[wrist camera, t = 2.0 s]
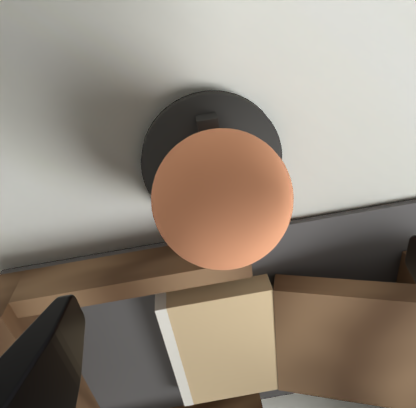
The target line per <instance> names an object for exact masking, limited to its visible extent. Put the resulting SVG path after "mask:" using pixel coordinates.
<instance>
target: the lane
mask: <svg viewBox="0 0 416 408" xmlns="http://www.w3.org/2000/svg"><path fill="white" fill-rule="evenodd" d="M415 234H416V199H414V200H408V201H402V202H397V203H391V204H385V205H379V206H373V207H368V208H362V209H356V210H350V211H344V212H339V213H333V214H327V215H321V216H315V217H310V218H304V219H298V220H292V221H290V222H289V225H288V228H287V230H286V232H285V234H284V235H283V237H282V238H281V240H280V241H279V243H278V244H277V245H276V246H275V247H274V249H273V250H272V251H270V252H269V253H268V254H267V255H266V256H264V257H263V258H261V259H260V260H258V261H256V262H254V263H252V274H253V277H251V278H245V279H239V280H233V281H228V282H222V283H216V284H211V285H205V286H199V287H193V288H188V289H182V290H176V291H171V292H165V293H159V294H153V295H148V296H142V297H136V298H131V299H125V300H119V301H113V302H108V303H102V304H96V305H91V306H85V307H81V309H82V311H83V314H84V316H85V335H84V349H83V362H82V376H83V377H84V379H85V381H86V383H87V385H88V387H89V388H90V390H91V392H92V394H93V396H94V397H95V399H96V401H97V403H98V405H99V407H100V408H172V407H177V406H183V405H184V406H190V405H194V404H200V403H205V402H211V401H216V400H222V399H227V398H233V397H238V396H244V395H250V394H255V393H259V394H260V398H261V399H265V398H271V397H276V396H282V395H287V394H293V392H287V391H281V390H278V374H277V355H276V336H275V317H274V298H273V288H274V280H275V274H282V275H296V276H310V277H324V278H338V279H352V280H365V281H379V282H393V283H396V281H397V276H398V271H399V266H400V261H401V256H402V251H407V246H408V242H409V238H410V237H411V236H412V235H415ZM163 246H168V245H167V243H166V242H165V243H159V244H153V245H147V246H141V247H136V248H130V249H124V250H118V251H112V252H107V253H101V254H95V255H89V256H84V257H78V258H72V259H66V260H60V261H55V262H49V263H43V264H37V265H31V266H26V267H20V268H14V269H8V270H2V272H1V274H7V273H13V272H18V271H24V270H30V269H36V268H41V267H47V266H53V265H59V264H65V263H70V262H76V261H82V260H88V259H94V258H99V257H105V256H111V255H117V254H123V253H128V252H134V251H140V250H146V249H151V248H157V247H163ZM1 274H0V275H1Z"/></svg>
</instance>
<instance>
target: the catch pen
mask: <svg viewBox="0 0 416 408" xmlns="http://www.w3.org/2000/svg"><path fill="white" fill-rule="evenodd" d="M251 277H253V274H252V264H250V265H248V266H245V267H242V268H238V269H232V270H212V269H207V268H203V267H199V266H197V265H195V264H192V263H190V262H188V261H186V260H185V259H183V258H182V257H180V256H179V255H178V254H176V253H175V252H174V251H173V250H172V249H171V248H170V247H169V246H163V247H157V248H151V249H146V250H140V251H134V252H128V253H123V254H117V255H111V256H105V257H99V258H94V259H88V260H82V261H76V262H70V263H65V264H59V265H53V266H47V267H41V268H36V269H30V270H24V271H18V272H13V273H7V274H1V275H0V357H1V356H2V355H3V354H4V352H5V351H6V350H7V349H8V348H9V347H10V346H11V345H12V344H13V343H14V342H15V341H16V340H17V339H18V338H19V337H20V336H21V334H22V333H23V332H24V331H25V330H26V329H27V328H28V327H29V326H30V325H31V324H32V323H33V322H34V321H35V320H36V319H37V318H38V316H39V315H40V314H41V313H42V312H43V311H44V310H45V309H46V308H47V307H48V306H49V305H50V304H51V303H52V302H53V301H54V300H55V299H56V298H57V297H59V296H64V295H70V294H72V295H74V296H75V297H76V299H77V301H78V303H79V305H80V307H85V306H91V305H96V304H102V303H108V302H113V301H119V300H125V299H131V298H136V297H142V296H148V295H153V294H159V293H165V292H171V291H176V290H182V289H188V288H193V287H199V286H205V285H211V284H216V283H222V282H228V281H233V280H239V279H245V278H251ZM76 408H100V407H99V405H98V403H97V401H96V399H95V397H94V396H93V394H92V392H91V390H90V388H89V387H88V385H87V383H86V381H85V379H84V377H83V376H82V374H81V382H80V388H79V394H78V399H77V404H76ZM172 408H263V407H262V403H261V398H260V394H259V393H255V394H250V395H244V396H238V397H233V398H227V399H222V400H216V401H211V402H205V403H200V404H194V405H190V406H184V405H183V406H177V407H172Z"/></svg>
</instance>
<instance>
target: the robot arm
mask: <svg viewBox="0 0 416 408" xmlns="http://www.w3.org/2000/svg"><path fill="white" fill-rule="evenodd" d="M405 263H406V266H407V269H408V270H409V272H410V274H411V276H412V278H413V279H414V281H415V283H416V234H415V235H412V236H411V237H410V238H409V242H408V246H407V251H406V256H405ZM84 335H85V316H84V314H83V311H82V309H81V307H80V305H79V303H78V301H77V299H76V297H75V296H74V295H72V294H70V295H64V296H59V297H57V298H56V299H55V300H54V301H53V302H52V303H51V304H50V305H49V306H48V307H47V308H46V309H45V310H44V311H43V312H42V313H41V314H40V315H39V316H38V318H37V319H36V320H35V321H34V322H33V323H32V324H31V325H30V326H29V327H28V328H27V329H26V330H25V331H24V332H23V333H22V334H21V336H20V337H19V338H18V339H17V340H16V341H15V342H14V343H13V344H12V345H11V346H10V347H9V348H8V349H7V350H6V351H5V352H4V354H3V355H2V356H1V357H0V408H76V404H77V399H78V394H79V388H80V382H81V374H82V362H83V349H84Z"/></svg>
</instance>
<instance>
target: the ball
mask: <svg viewBox="0 0 416 408" xmlns="http://www.w3.org/2000/svg"><path fill="white" fill-rule="evenodd" d="M151 205H152V212H153V217H154V220H155V223H156V226H157V229H158V230H159V232H160V234H161V236H162V238H163V239H164V240H165V242H166V243H167V245H168V246H169V247H170V248H171V249H172V250H173V251H174V252H175V253H176V254H178V255H179V256H180V257H182V258H183V259H185V260H186V261H188V262H190V263H192V264H195V265H197V266H199V267H203V268H207V269H212V270H232V269H238V268H242V267H245V266H248V265H250V264H252V263H254V262H256V261H258V260H260V259H261V258H263V257H264V256H266V255H267V254H268V253H269V252H270V251H272V250H273V249H274V247H275V246H276V245H277V244H278V243H279V241H280V240H281V238H282V237H283V235H284V234H285V232H286V230H287V228H288V225H289V222H290V219H291V216H292V211H293V188H292V183H291V179H290V176H289V173H288V171H287V169H286V167H285V165H284V163H283V161H282V160H281V158H280V157H279V156H278V154H277V153H276V152H275V151H274V150H273V149H272V148H271V147H270V146H269V145H268V144H267V143H265V142H264V141H262V140H261V139H259V138H258V137H256V136H254V135H252V134H250V133H247V132H244V131H241V130H236V129H230V128H216V129H208V130H204V131H201V132H198V133H195V134H193V135H191V136H189V137H187V138H185V139H184V140H182V141H181V142H180V143H178V144H177V145H176V146H175V147H174V148H172V149H171V150H170V152H169V153H168V154H167V155H166V156H165V158H164V159H163V161H162V163H161V164H160V166H159V168H158V170H157V172H156V175H155V178H154V182H153V186H152V193H151Z"/></svg>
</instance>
